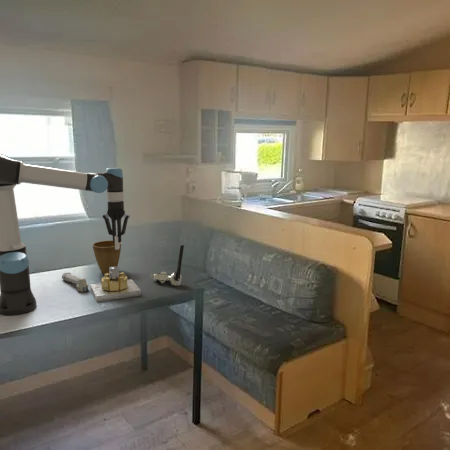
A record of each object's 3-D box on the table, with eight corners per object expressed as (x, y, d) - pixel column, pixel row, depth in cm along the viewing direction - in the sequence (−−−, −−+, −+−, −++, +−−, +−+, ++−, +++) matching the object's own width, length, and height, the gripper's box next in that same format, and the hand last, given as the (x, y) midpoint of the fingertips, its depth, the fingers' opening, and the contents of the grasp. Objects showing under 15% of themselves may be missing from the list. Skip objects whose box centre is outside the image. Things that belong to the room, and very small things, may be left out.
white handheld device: (70, 271, 237) (89, 276, 218) (71, 284, 238) (90, 290, 218) (60, 273, 234) (78, 278, 214) (61, 286, 235) (80, 292, 215)
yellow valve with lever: (127, 289, 211) (126, 278, 210) (101, 291, 209) (100, 280, 208) (127, 277, 230) (127, 266, 229) (103, 278, 228) (103, 268, 227)
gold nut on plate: (96, 301, 204) (94, 275, 202) (90, 289, 220) (88, 265, 218) (140, 295, 212) (139, 270, 210) (131, 284, 228) (130, 260, 226)
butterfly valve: (147, 281, 231) (171, 285, 220) (153, 242, 233) (177, 244, 223) (159, 282, 238) (184, 286, 227) (165, 244, 240) (189, 246, 229)
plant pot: (98, 268, 255) (96, 240, 252) (125, 268, 255) (123, 240, 252) (90, 276, 241) (88, 246, 238) (118, 276, 241) (117, 246, 238)
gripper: (131, 199, 222) (132, 247, 226) (104, 199, 223) (106, 246, 227) (126, 201, 215) (128, 251, 219) (99, 201, 215) (101, 250, 220)
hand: (117, 248), depth 223 cm, fingers closed
